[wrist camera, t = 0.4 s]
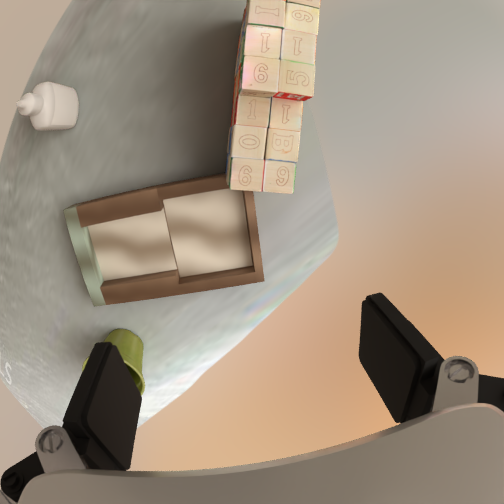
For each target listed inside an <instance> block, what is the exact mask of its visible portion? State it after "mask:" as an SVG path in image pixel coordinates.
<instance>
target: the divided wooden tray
mask: <svg viewBox="0 0 504 504" xmlns="http://www.w3.org/2000/svg"><path fill="white" fill-rule="evenodd" d="M226 176H227V175H226V174H225V173H222V174H216V175H210V176H204V177H198V178H193V179H187V180H181V181H176V182H171V183H166V184H161V185H156V186H151V187H146V188H141V189H137V190H132V191H128V192H123V193H119V194H114V195H110V196H106V197H102V198H98V199H94V200H90V201H86V202H82V203H78V204H74V205H72V206H70V207H68V208H66V209H65V210H63V211H64V215H65V219H66V223H67V227H68V230H69V234H70V237H71V241H72V244H73V247H74V251H75V254H76V257H77V260H78V263H79V266H80V269H81V272H82V275H83V278H84V281H85V284H86V286H87V289H88V292H89V295H90V297H91V300H92V302H93V305H94V306H102V305H110V304H117V303H125V302H132V301H140V300H147V299H154V298H161V297H168V296H175V295H181V294H188V293H194V292H201V291H207V290H214V289H220V288H226V287H233V286H239V285H245V284H251V283H257V282H263V281H264V274H263V266H262V258H261V250H260V242H259V234H258V226H257V218H256V211H255V203H254V195H253V191H245V190H230V188H229V185H227V182H226Z"/></svg>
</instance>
